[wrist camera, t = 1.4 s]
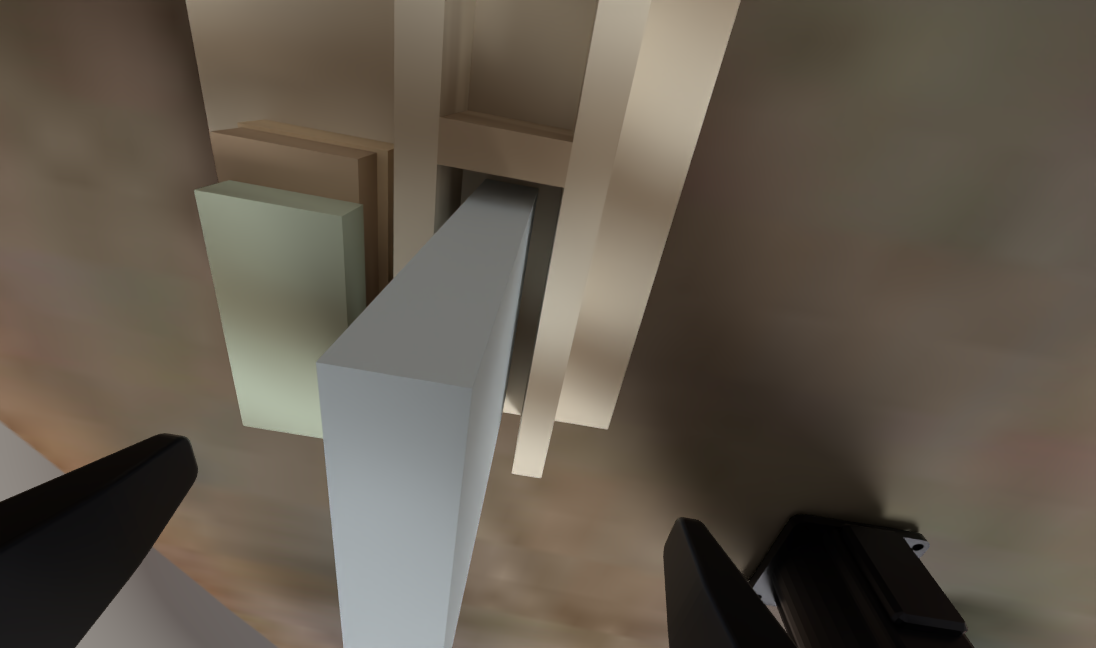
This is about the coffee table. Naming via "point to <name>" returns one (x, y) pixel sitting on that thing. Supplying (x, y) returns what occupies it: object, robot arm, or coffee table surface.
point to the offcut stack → (293, 256)
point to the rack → (502, 145)
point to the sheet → (422, 422)
